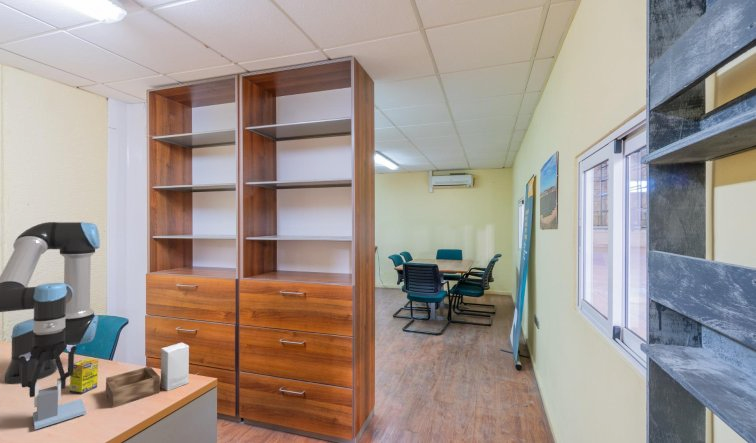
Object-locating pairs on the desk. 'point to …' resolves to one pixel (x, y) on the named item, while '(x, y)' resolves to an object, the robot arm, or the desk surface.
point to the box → (132, 386)
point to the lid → (55, 408)
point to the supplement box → (84, 376)
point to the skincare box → (174, 366)
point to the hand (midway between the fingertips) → (47, 402)
